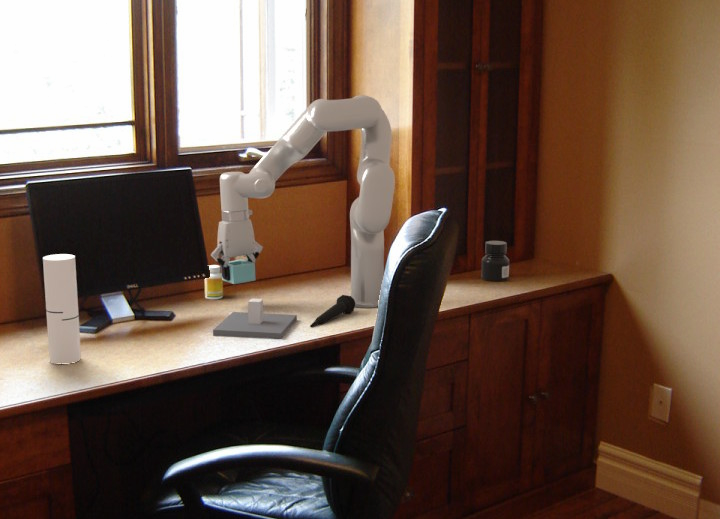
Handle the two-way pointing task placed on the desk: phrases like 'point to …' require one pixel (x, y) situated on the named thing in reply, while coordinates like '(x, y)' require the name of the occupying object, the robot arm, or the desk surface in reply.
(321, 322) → the microphone
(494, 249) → the ink bottle
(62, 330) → the cylindrical container
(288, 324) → the post board
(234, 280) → the teal hollow cube
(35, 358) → the desk surface
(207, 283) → the supplement bottle
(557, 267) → the desk surface
